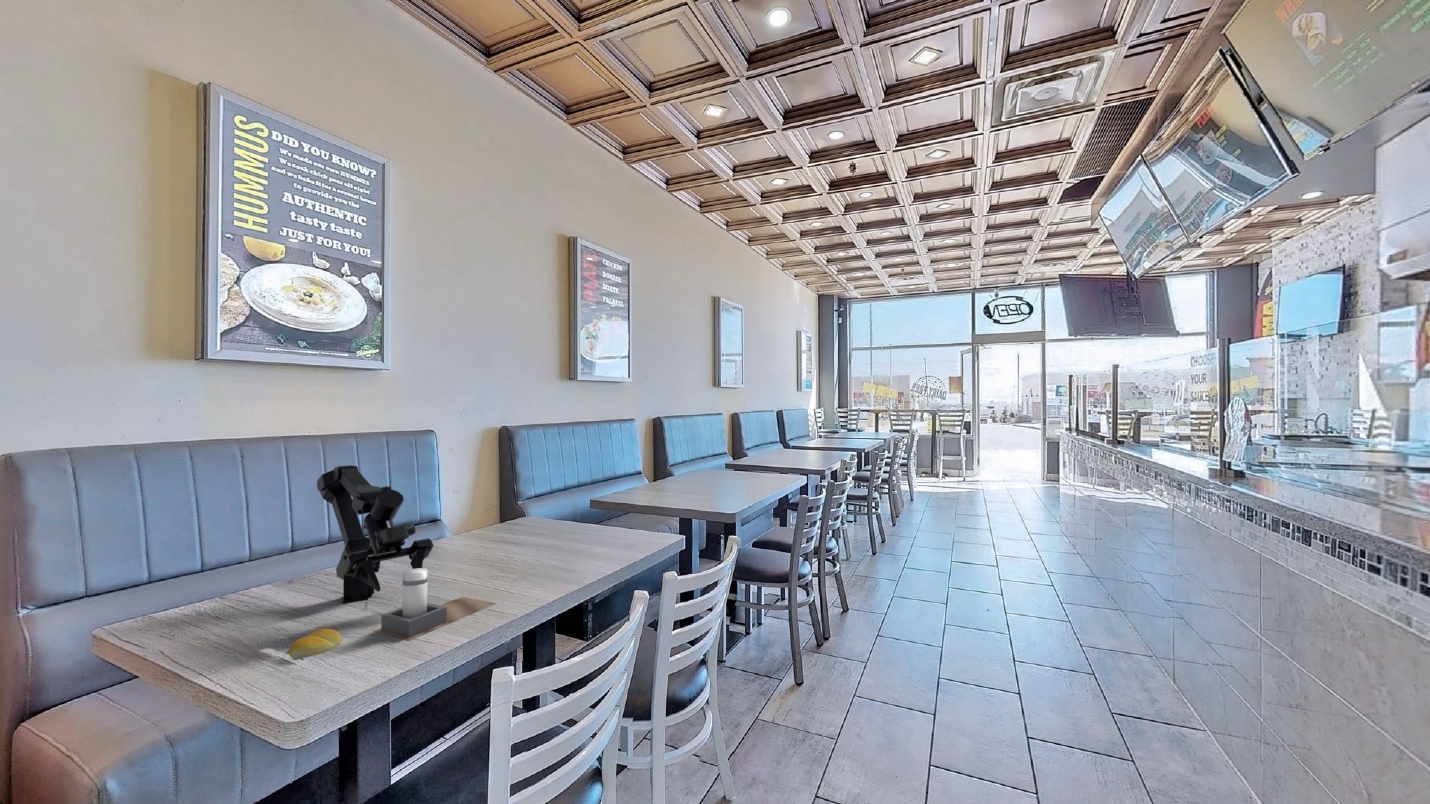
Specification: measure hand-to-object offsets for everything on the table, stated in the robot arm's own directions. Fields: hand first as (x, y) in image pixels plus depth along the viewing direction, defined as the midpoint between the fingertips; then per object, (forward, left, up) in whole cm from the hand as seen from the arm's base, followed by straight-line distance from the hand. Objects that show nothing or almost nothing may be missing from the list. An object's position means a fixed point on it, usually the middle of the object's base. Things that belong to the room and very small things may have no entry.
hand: (400, 585), depth 128 cm
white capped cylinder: (+3, -7, -8) cm, 11 cm away
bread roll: (-15, -8, -9) cm, 20 cm away
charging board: (+8, -4, -9) cm, 12 cm away
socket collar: (+3, -7, -8) cm, 11 cm away
